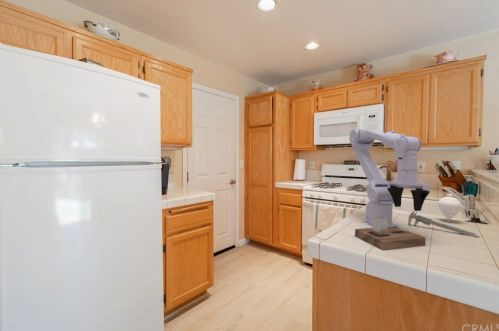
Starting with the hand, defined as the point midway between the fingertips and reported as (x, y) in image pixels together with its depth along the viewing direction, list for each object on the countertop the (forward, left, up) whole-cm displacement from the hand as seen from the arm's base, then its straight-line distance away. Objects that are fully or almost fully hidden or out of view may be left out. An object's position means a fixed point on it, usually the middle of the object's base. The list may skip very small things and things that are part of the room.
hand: (407, 208), depth 78 cm
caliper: (-1, +17, -10) cm, 20 cm away
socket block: (+3, -11, -9) cm, 15 cm away
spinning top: (-9, +33, -10) cm, 36 cm away
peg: (+3, -14, -9) cm, 18 cm away
